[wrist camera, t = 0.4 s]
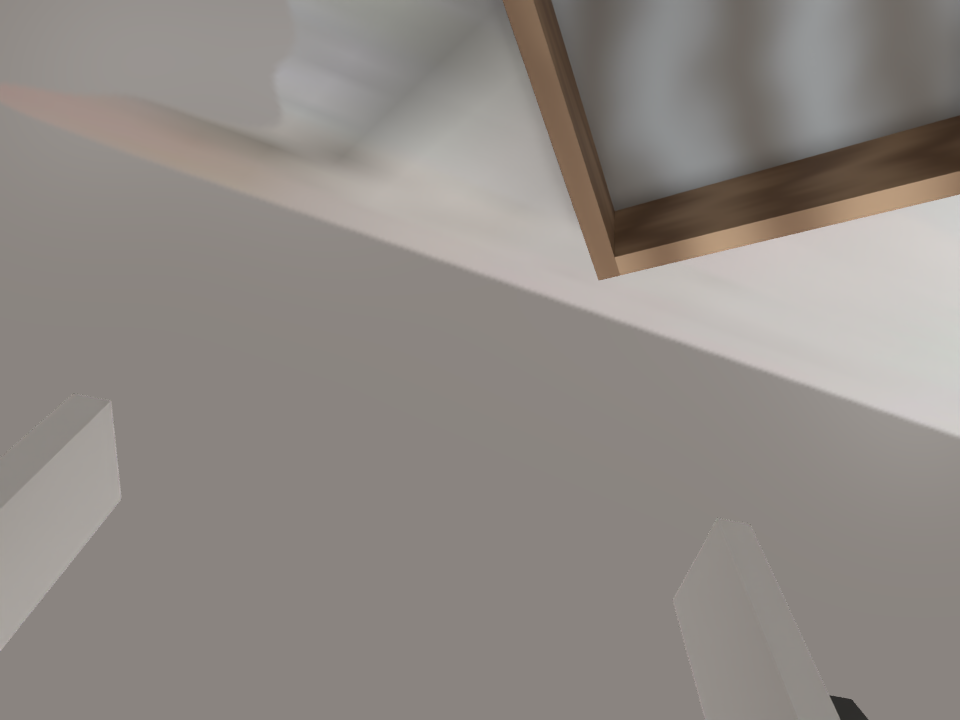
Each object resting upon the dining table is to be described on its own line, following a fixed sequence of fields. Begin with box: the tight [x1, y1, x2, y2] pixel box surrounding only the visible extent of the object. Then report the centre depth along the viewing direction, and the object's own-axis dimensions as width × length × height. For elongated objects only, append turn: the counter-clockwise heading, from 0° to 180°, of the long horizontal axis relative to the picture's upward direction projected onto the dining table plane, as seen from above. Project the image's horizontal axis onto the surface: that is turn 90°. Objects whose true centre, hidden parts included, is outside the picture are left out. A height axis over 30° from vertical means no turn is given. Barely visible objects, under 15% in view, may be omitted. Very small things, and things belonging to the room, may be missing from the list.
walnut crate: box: [503, 0, 960, 280], centre depth 28 cm, size 20×18×6 cm
